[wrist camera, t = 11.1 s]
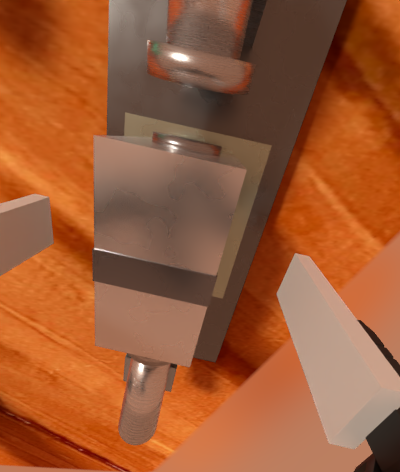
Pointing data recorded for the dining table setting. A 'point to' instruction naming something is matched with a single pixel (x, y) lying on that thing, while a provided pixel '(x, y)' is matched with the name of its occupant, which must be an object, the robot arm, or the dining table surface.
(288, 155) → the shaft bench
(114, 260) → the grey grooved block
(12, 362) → the dining table surface
